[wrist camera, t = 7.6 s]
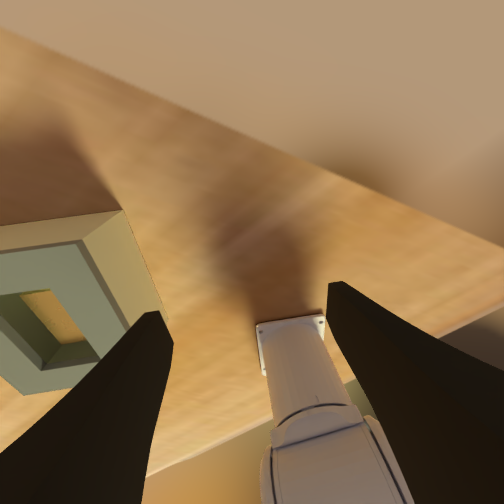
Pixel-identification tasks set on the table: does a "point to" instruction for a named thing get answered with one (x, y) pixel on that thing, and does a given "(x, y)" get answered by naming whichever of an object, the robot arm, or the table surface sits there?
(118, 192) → the table surface
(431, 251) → the table surface
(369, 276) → the table surface
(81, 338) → the block
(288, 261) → the table surface
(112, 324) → the coin box
